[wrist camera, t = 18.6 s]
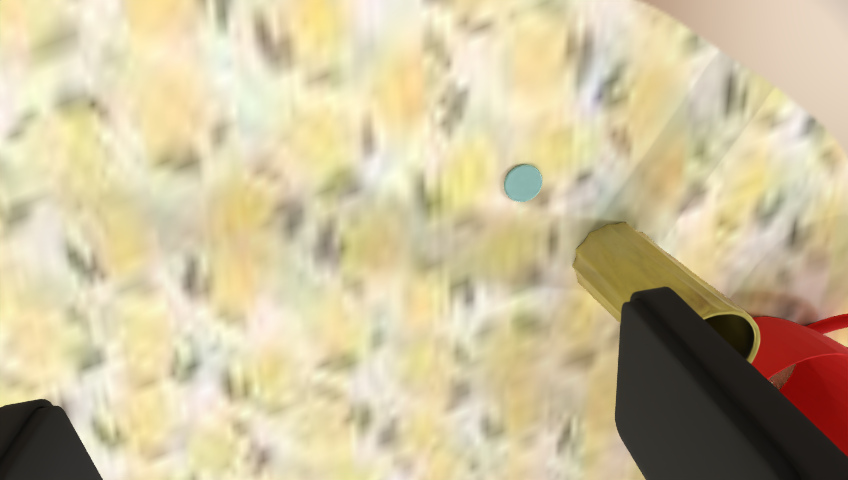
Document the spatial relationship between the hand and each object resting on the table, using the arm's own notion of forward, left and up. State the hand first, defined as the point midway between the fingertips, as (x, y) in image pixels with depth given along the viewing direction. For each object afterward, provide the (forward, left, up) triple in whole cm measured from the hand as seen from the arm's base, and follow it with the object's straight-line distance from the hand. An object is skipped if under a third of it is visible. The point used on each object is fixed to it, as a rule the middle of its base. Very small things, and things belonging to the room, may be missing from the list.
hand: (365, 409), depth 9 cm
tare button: (+7, +11, -28) cm, 30 cm away
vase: (+14, +17, -29) cm, 36 cm away
